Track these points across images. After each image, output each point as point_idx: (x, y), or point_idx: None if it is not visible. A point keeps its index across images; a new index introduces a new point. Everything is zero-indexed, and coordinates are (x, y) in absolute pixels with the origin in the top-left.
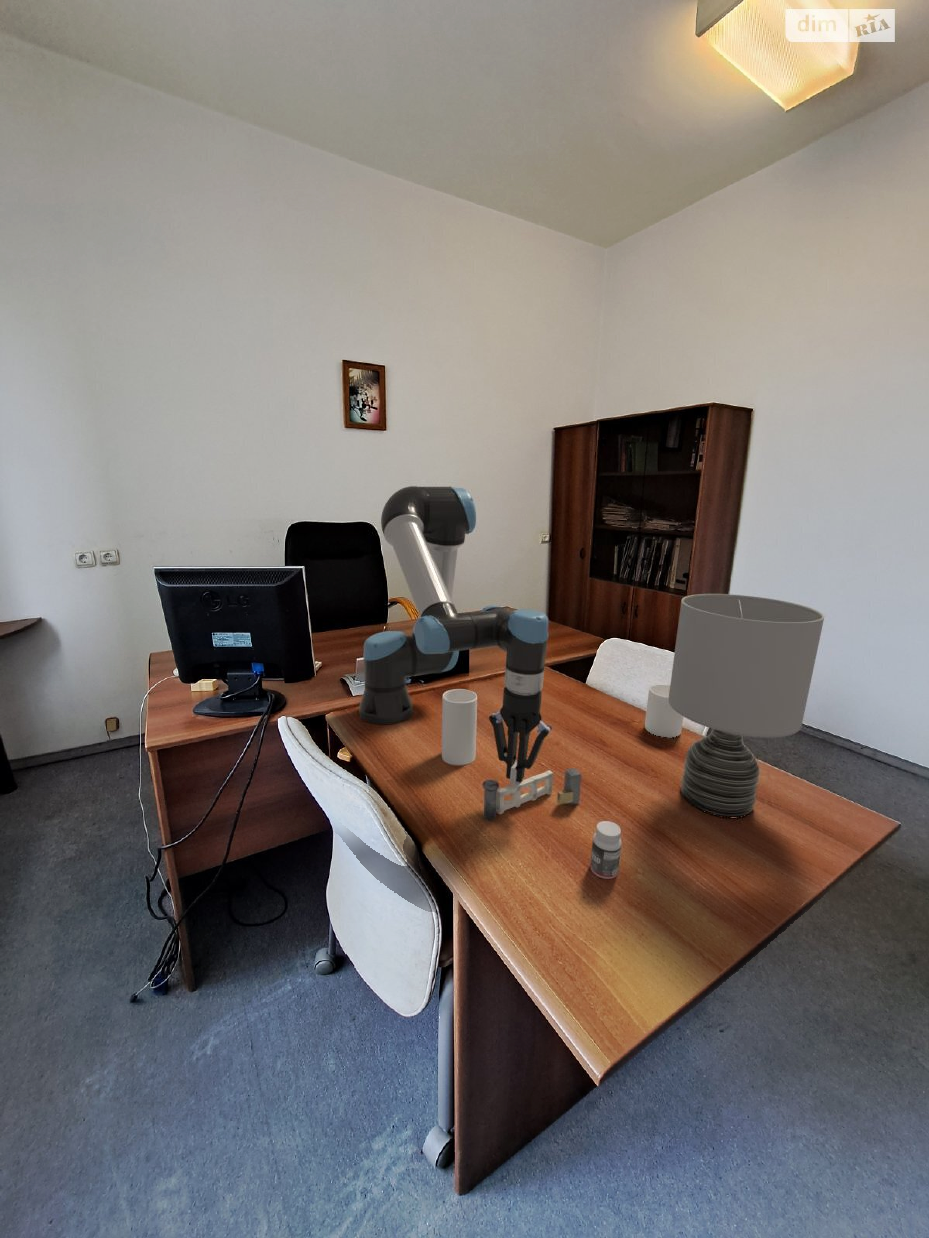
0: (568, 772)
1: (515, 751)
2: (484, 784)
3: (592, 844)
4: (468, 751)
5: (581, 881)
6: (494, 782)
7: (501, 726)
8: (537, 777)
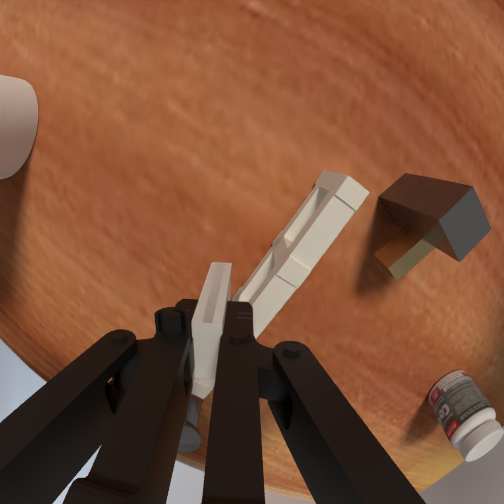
0: (450, 237)
1: (178, 391)
2: None
3: (446, 431)
4: (2, 148)
5: (409, 423)
6: None
7: (21, 491)
8: (307, 260)
